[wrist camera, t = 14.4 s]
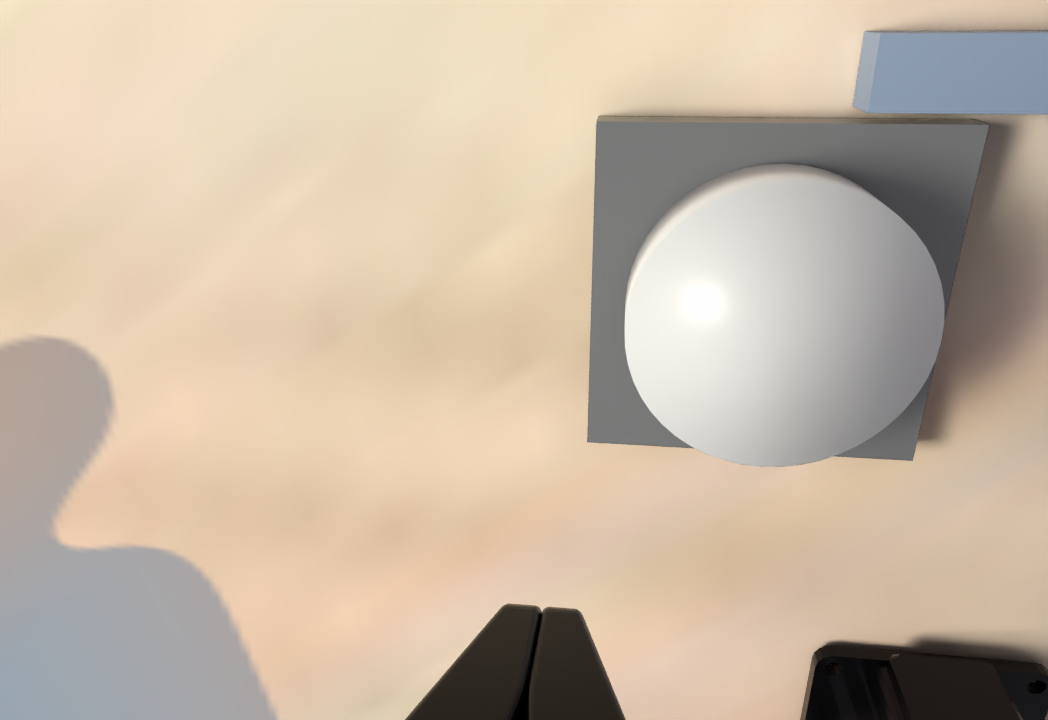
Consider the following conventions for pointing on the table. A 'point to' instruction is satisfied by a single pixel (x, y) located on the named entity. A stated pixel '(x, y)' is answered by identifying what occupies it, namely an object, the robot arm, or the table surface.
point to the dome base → (739, 142)
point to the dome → (781, 316)
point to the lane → (953, 72)
